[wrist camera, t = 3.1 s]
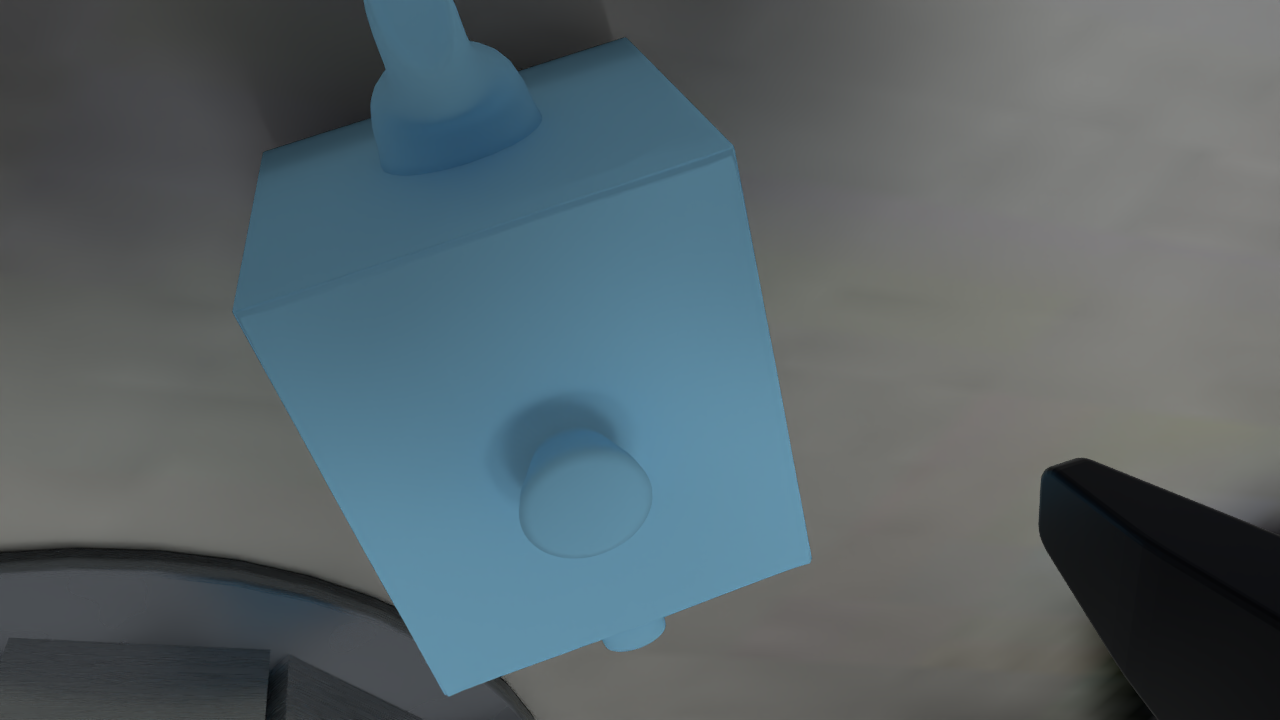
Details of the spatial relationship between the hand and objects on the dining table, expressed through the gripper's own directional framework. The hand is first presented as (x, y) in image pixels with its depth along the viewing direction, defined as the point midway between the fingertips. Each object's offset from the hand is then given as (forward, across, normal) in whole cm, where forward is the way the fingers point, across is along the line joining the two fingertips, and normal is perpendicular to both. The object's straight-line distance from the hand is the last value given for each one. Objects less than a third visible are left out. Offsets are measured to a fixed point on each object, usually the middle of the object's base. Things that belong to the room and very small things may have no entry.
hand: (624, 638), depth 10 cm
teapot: (+11, 0, 0) cm, 11 cm away
